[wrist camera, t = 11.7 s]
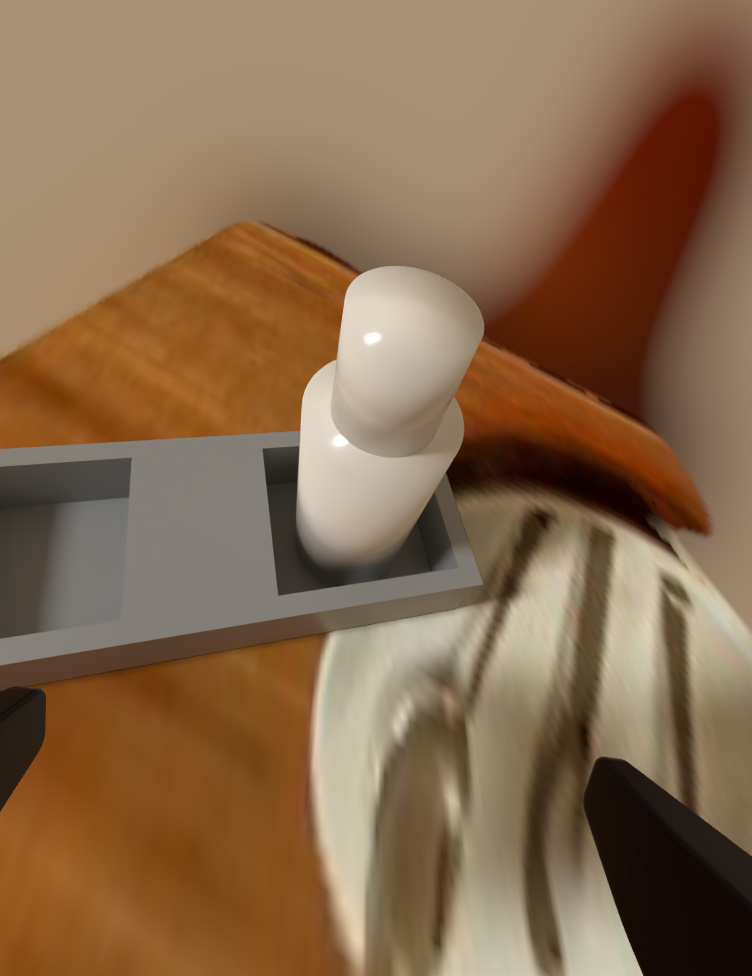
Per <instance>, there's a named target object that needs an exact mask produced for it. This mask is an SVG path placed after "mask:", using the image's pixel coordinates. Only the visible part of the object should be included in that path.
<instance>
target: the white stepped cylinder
mask: <svg viewBox="0 0 752 976" xmlns="http://www.w3.org/2000/svg"><path fill="white" fill-rule="evenodd" d="M483 333H484V322H483V318H482V315H481V312H480V310H479V308H478V307H477V305H476V304H475V303H474V301H473V300H472V299H471V298H470V296H469V295H468V294H467V293H465V292H464V291H463V290H462V289H461V288H459V287H458V286H457V285H455V284H454V283H452V282H450V281H449V280H447V279H445V278H443V277H441V276H439V275H436V274H434V273H431V272H428V271H425V270H421V269H417V268H412V267H402V266H389V267H381V268H376V269H373V270H370V271H367V272H365V273H363V274H361V275H360V276H358V277H357V278H356V279H355V280H354V281H353V282H352V283H351V284H350V286H349V288H348V290H347V292H346V296H345V302H344V310H343V317H342V324H341V331H340V339H339V346H338V353H337V360H334V361H332V362H331V363H329V364H327V365H325V366H324V367H323V368H322V369H320V370H319V371H318V372H317V373H316V374H315V375H314V376H313V377H312V379H311V380H310V382H309V383H308V385H307V387H306V389H305V392H304V396H303V401H302V414H301V432H300V451H299V469H298V488H297V506H296V525H295V545H296V550H297V553H298V556H299V558H300V560H301V561H302V563H303V564H304V566H305V567H306V568H307V569H308V571H309V572H310V573H312V574H313V575H314V576H315V577H317V578H318V579H320V580H321V581H323V582H326V583H328V584H331V585H334V586H338V587H339V586H345V585H352V584H358V583H365V582H371V581H375V580H377V579H378V578H379V577H381V576H382V575H383V574H384V573H385V572H386V571H387V570H388V568H389V567H390V566H391V564H392V562H393V561H394V559H395V557H396V556H397V554H398V552H399V550H400V549H401V547H402V545H403V544H404V542H405V540H406V539H407V537H408V535H409V534H410V532H411V530H412V528H413V527H414V525H415V523H416V522H417V520H418V518H419V517H420V515H421V513H422V512H423V510H424V508H425V506H426V505H427V503H428V501H429V500H430V498H431V496H432V495H433V493H434V491H435V490H436V488H437V486H438V484H439V483H440V481H441V479H442V478H443V476H444V474H445V473H446V471H447V469H448V468H449V466H450V464H451V462H452V461H453V459H454V457H455V456H456V454H457V452H458V451H459V449H460V446H461V443H462V440H463V435H464V422H463V416H462V412H461V409H460V407H459V404H458V402H457V400H456V399H455V397H454V395H455V393H456V391H457V389H458V387H459V385H460V383H461V381H462V379H463V377H464V375H465V373H466V371H467V369H468V367H469V364H470V362H471V360H472V358H473V356H474V354H475V352H476V350H477V348H478V346H479V344H480V342H481V340H482V337H483Z"/></svg>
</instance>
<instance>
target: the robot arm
mask: <svg viewBox="0 0 752 976" xmlns="http://www.w3.org/2000/svg"><path fill="white" fill-rule="evenodd" d="M45 716H46V695H45V693H44V691H43V690H41V689H38V688H30V687H22V686H14V687H11V688H8V689H6V690H3V691H1V692H0V811H1V810H2V808H3V807H4V805H5V804H6V802H7V800H8V799H9V797H10V796H11V794H12V793H13V791H14V789H15V788H16V786H17V785H18V783H19V782H20V780H21V779H22V777H23V775H24V774H25V772H26V771H27V769H28V768H29V766H30V764H31V763H32V761H33V760H34V758H35V757H36V755H37V753H38V752H39V750H40V748H41V746H42V743H43V740H44V736H45ZM583 802H584V810H585V814H586V817H587V820H588V823H589V826H590V829H591V832H592V835H593V838H594V841H595V844H596V847H597V850H598V853H599V856H600V859H601V862H602V865H603V868H604V871H605V874H606V877H607V880H608V883H609V886H610V889H611V892H612V895H613V899H614V902H615V905H616V907H617V910H618V913H619V916H620V919H621V921H622V924H623V927H624V929H625V932H626V934H627V937H628V940H629V942H630V945H631V947H632V950H633V952H634V954H635V957H636V959H637V962H638V964H639V966H640V969H641V971H642V974H643V976H752V856H750V855H749V854H748V853H746V852H745V851H744V850H742V849H741V848H740V847H739V846H737V845H736V844H735V843H733V842H732V841H731V840H729V839H728V838H727V837H725V836H724V835H723V834H721V833H720V832H719V831H718V830H716V829H715V828H714V827H712V826H711V825H710V824H708V823H707V822H706V821H704V820H703V819H702V818H700V817H699V816H698V815H696V814H695V813H694V812H693V811H691V810H690V809H689V808H687V807H686V806H685V805H683V804H682V803H681V802H679V801H678V800H677V799H675V798H674V797H673V796H671V795H670V794H669V793H668V792H666V791H665V790H664V789H662V788H661V787H660V786H658V785H657V784H656V783H654V782H653V781H652V780H650V779H649V778H648V777H646V776H645V775H644V774H643V773H641V772H640V771H639V770H637V769H636V768H635V767H633V766H632V765H631V764H629V763H628V762H627V761H625V760H623V759H619V758H610V757H599V758H598V759H597V760H596V761H595V763H594V766H593V769H592V772H591V775H590V778H589V781H588V784H587V787H586V789H585V792H584V799H583Z"/></svg>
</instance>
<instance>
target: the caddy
mask: <svg viewBox="0 0 752 976" xmlns="http://www.w3.org/2000/svg"><path fill="white" fill-rule="evenodd" d="M300 432H301V431H292V432H276V433H259V434H243V435H226V436H210V437H193V438H177V439H160V440H144V441H127V442H111V443H94V444H78V445H61V446H45V447H28V448H12V449H0V691H3V690H6V689H8V688H11V687H14V686H22V687H26V686H31V685H37V684H42V683H48V682H54V681H59V680H65V679H70V678H76V677H81V676H87V675H92V674H98V673H103V672H109V671H115V670H120V669H126V668H131V667H137V666H142V665H148V664H153V663H159V662H164V661H170V660H176V659H181V658H187V657H192V656H198V655H203V654H209V653H214V652H220V651H225V650H231V649H236V648H242V647H248V646H253V645H259V644H264V643H270V642H275V641H281V640H286V639H292V638H297V637H303V636H309V635H314V634H320V633H325V632H331V631H336V630H342V629H347V628H353V627H358V626H364V625H370V624H375V623H381V622H386V621H392V620H397V619H403V618H408V617H414V616H419V615H425V614H431V613H436V612H442V611H447V610H453V609H455V608H456V607H457V606H458V605H459V604H461V603H462V602H463V601H464V600H465V599H467V598H468V597H469V596H470V595H471V594H473V593H474V592H475V591H476V590H477V589H479V588H480V587H481V586H482V585H483V581H482V579H481V576H480V573H479V570H478V567H477V564H476V561H475V558H474V555H473V552H472V549H471V546H470V543H469V540H468V537H467V534H466V531H465V528H464V525H463V522H462V519H461V516H460V513H459V510H458V507H457V505H456V502H455V499H454V496H453V493H452V490H451V487H450V484H449V481H448V478H447V475H446V473H445V474H444V476H443V478H442V479H441V481H440V483H439V484H438V486H437V488H436V490H435V491H434V493H433V495H432V496H431V498H430V500H429V501H428V503H427V505H426V506H425V508H424V510H423V512H422V513H421V515H420V517H419V518H418V520H417V522H416V523H415V525H414V527H413V528H412V530H411V532H410V534H409V535H408V537H407V539H406V540H405V542H404V544H403V545H402V547H401V549H400V550H399V552H398V554H397V556H396V557H395V559H394V561H393V562H392V564H391V566H390V567H389V568H388V570H387V571H386V572H385V573H384V574H383V575H382V576H381V577H379V578H378V579H377V580H375V581H371V582H365V583H358V584H352V585H345V586H339V587H338V586H334V585H331V584H328V583H326V582H323V581H321V580H320V579H318V578H317V577H315V576H314V575H313V574H312V573H310V572H309V571H308V569H307V568H306V567H305V566H304V564H303V563H302V561H301V560H300V558H299V556H298V553H297V550H296V545H295V525H296V506H297V488H298V469H299V451H300Z"/></svg>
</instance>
